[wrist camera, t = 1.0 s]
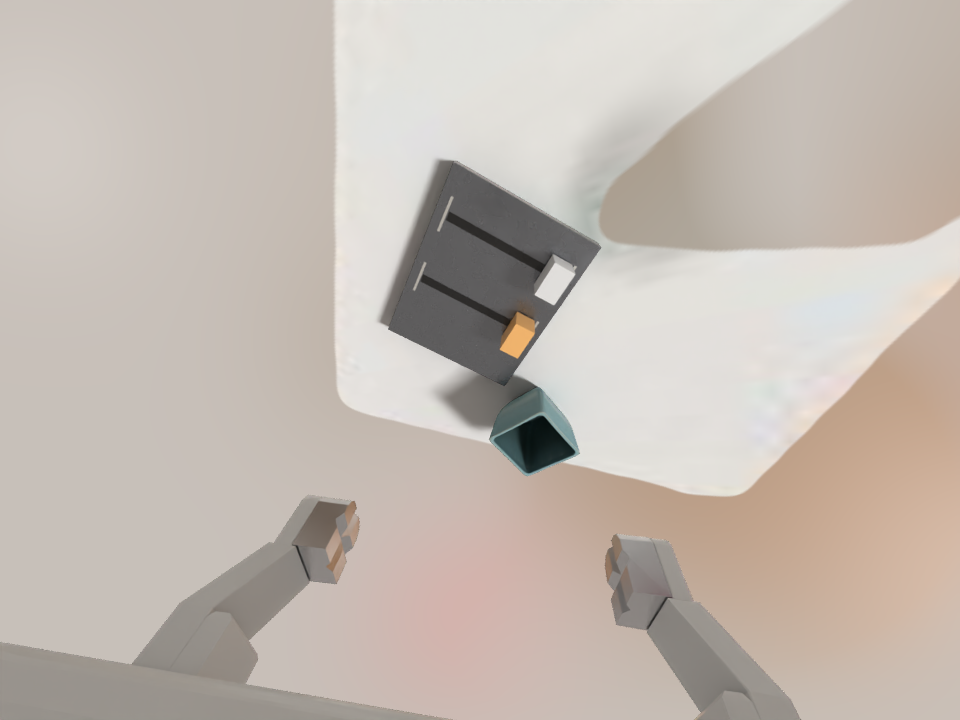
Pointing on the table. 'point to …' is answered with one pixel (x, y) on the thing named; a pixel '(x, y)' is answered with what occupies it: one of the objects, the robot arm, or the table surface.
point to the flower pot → (533, 433)
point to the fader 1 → (517, 335)
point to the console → (483, 273)
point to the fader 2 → (553, 279)
